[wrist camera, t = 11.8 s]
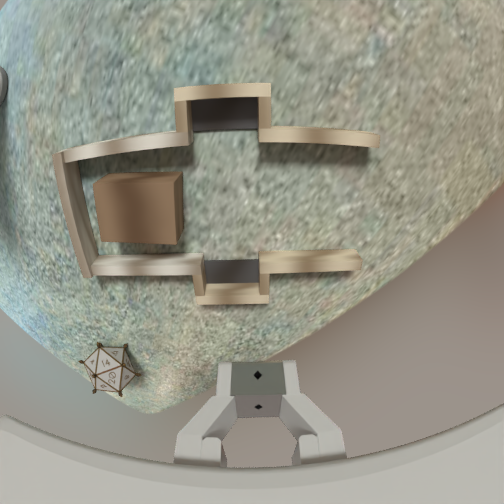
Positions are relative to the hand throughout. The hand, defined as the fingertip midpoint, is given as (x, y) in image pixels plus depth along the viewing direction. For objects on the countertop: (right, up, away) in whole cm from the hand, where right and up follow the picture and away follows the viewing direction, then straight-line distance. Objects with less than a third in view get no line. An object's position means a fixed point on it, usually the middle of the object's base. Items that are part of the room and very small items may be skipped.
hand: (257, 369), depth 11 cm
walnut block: (-11, +10, +17) cm, 23 cm away
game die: (-21, -10, +29) cm, 37 cm away
